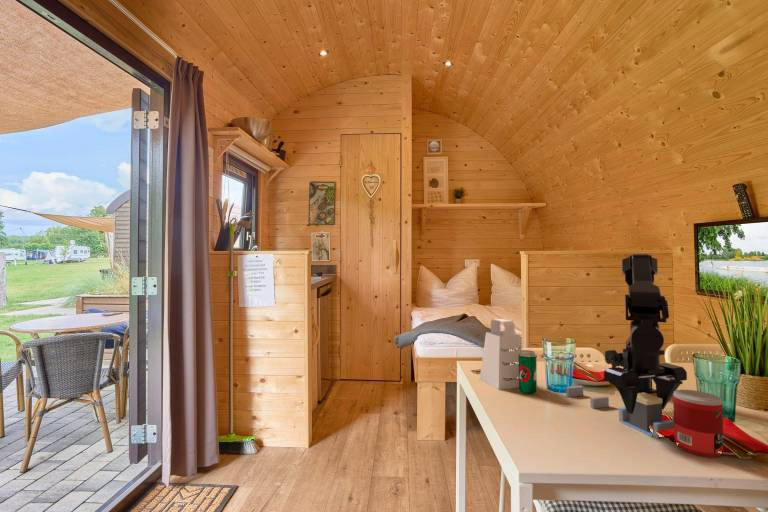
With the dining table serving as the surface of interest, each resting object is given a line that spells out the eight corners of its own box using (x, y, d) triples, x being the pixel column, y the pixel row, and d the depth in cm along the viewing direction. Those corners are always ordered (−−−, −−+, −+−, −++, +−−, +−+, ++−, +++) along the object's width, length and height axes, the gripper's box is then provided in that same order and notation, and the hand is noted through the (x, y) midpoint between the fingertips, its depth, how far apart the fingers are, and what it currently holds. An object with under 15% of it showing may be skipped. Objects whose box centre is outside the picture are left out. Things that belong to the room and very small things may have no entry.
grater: (506, 376, 132) (506, 317, 133) (527, 385, 123) (526, 321, 123) (479, 379, 129) (479, 318, 129) (498, 389, 119) (498, 323, 119)
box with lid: (644, 421, 95) (644, 392, 95) (662, 429, 90) (662, 398, 90) (629, 423, 93) (628, 394, 94) (646, 431, 89) (646, 400, 89)
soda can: (538, 395, 114) (537, 353, 114) (520, 394, 115) (519, 353, 115) (535, 389, 119) (534, 350, 119) (517, 388, 120) (517, 349, 120)
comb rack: (582, 394, 115) (581, 383, 115) (676, 435, 88) (676, 421, 88) (564, 396, 113) (564, 385, 113) (655, 438, 86) (655, 424, 86)
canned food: (727, 462, 76) (726, 404, 76) (675, 451, 80) (675, 397, 80) (719, 446, 83) (718, 393, 83) (672, 437, 87) (671, 387, 87)
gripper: (644, 335, 102) (645, 395, 102) (585, 339, 97) (586, 403, 97) (688, 344, 92) (689, 411, 91) (624, 349, 86) (625, 420, 86)
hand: (645, 411), depth 92 cm, fingers open, 9 cm apart
